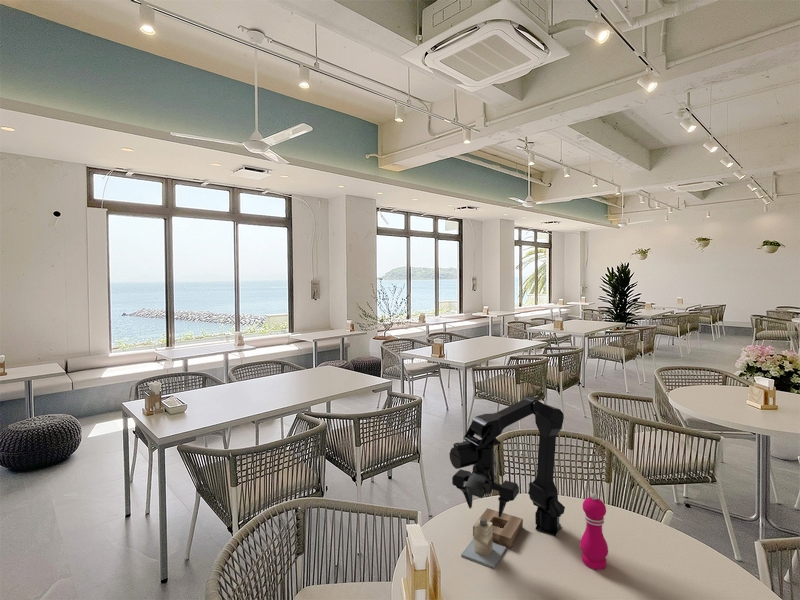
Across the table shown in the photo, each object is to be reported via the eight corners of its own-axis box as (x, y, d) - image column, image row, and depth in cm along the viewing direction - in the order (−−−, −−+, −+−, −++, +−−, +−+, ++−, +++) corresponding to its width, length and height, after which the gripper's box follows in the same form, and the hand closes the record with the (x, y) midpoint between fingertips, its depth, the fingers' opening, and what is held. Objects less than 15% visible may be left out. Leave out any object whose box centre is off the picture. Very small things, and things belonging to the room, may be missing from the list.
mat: (506, 548, 127) (506, 546, 127) (494, 568, 119) (494, 566, 119) (474, 538, 132) (474, 536, 132) (461, 556, 124) (461, 554, 124)
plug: (492, 548, 126) (492, 519, 126) (487, 556, 123) (487, 526, 122) (479, 544, 128) (479, 515, 128) (474, 551, 125) (474, 522, 125)
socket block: (522, 527, 137) (522, 518, 137) (510, 548, 127) (510, 538, 127) (487, 516, 144) (487, 508, 144) (473, 535, 134) (473, 526, 134)
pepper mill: (602, 554, 124) (602, 487, 122) (612, 571, 116) (613, 500, 115) (576, 553, 124) (576, 486, 123) (584, 570, 117) (585, 499, 116)
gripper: (443, 464, 123) (444, 516, 124) (506, 479, 113) (507, 536, 114) (459, 450, 132) (460, 499, 133) (519, 463, 122) (519, 516, 123)
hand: (485, 512), depth 126 cm, fingers open, 9 cm apart
